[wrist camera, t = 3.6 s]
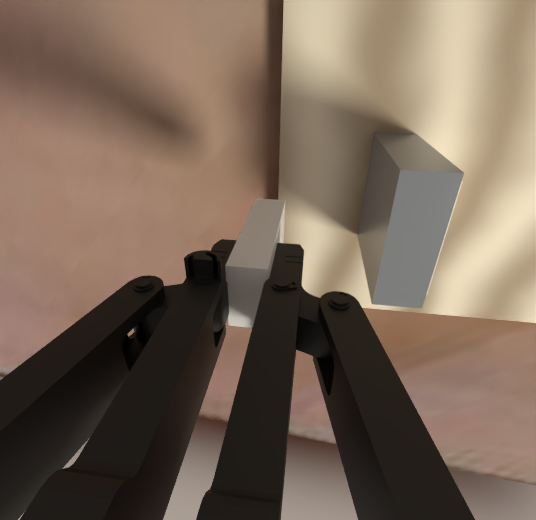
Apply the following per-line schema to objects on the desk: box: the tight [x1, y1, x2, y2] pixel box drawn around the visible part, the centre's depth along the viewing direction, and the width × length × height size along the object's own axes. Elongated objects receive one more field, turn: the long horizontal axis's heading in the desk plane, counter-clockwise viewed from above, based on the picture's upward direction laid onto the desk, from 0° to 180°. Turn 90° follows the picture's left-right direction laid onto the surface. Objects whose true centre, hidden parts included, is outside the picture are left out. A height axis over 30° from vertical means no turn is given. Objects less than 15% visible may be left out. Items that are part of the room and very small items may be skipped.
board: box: [278, 0, 536, 323], centre depth 22 cm, size 24×20×1 cm
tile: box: [357, 132, 464, 308], centre depth 19 cm, size 3×7×8 cm, turn 179°
